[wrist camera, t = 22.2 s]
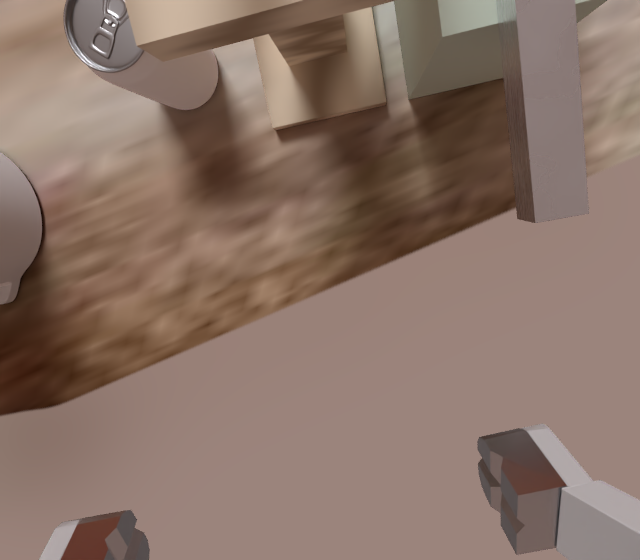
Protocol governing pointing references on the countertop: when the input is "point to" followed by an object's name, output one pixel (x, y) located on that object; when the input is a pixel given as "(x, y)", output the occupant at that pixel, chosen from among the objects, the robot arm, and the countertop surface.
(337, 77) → the stand
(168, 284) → the countertop surface
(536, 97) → the hammer
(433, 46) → the pale green box
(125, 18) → the can
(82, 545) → the robot arm
